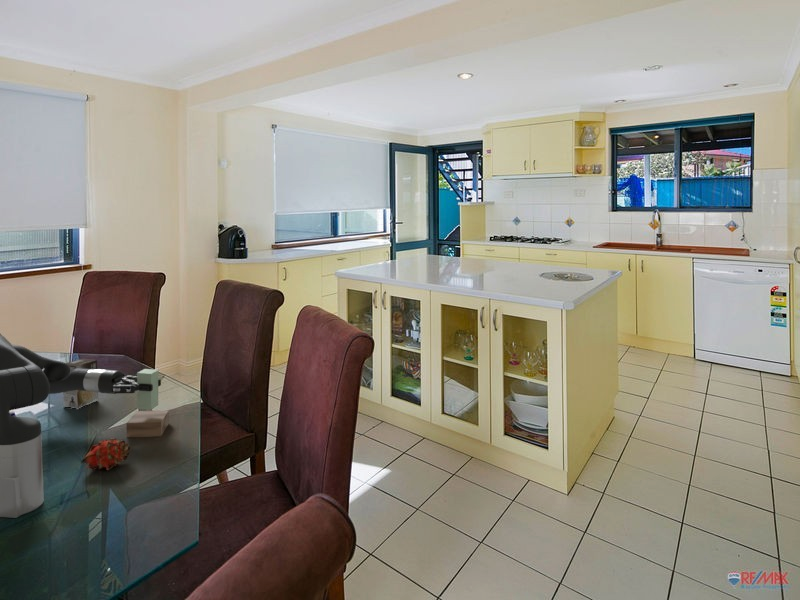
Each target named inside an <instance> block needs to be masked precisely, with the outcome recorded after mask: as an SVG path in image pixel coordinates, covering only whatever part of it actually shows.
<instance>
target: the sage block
mask: <svg viewBox="0 0 800 600" xmlns="http://www.w3.org/2000/svg"><path fill="white" fill-rule="evenodd" d="M136 374H137V383H140V384H141V383H142V384H152V385H153V390H152V391H138V392H136V408H137V410H145V411H153V409H155V408H156V407H158V406H159V386H158V379H159V369H151V368H143V369H142V370H140V371H137V372H136Z"/></svg>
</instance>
